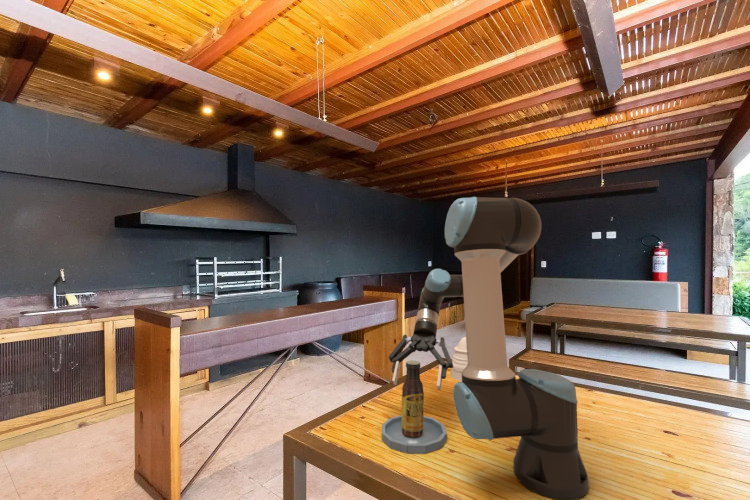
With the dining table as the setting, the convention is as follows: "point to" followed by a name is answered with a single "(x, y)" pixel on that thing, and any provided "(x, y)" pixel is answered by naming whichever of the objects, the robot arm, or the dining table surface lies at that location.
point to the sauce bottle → (412, 401)
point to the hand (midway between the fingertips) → (416, 385)
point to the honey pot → (459, 359)
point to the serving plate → (425, 443)
